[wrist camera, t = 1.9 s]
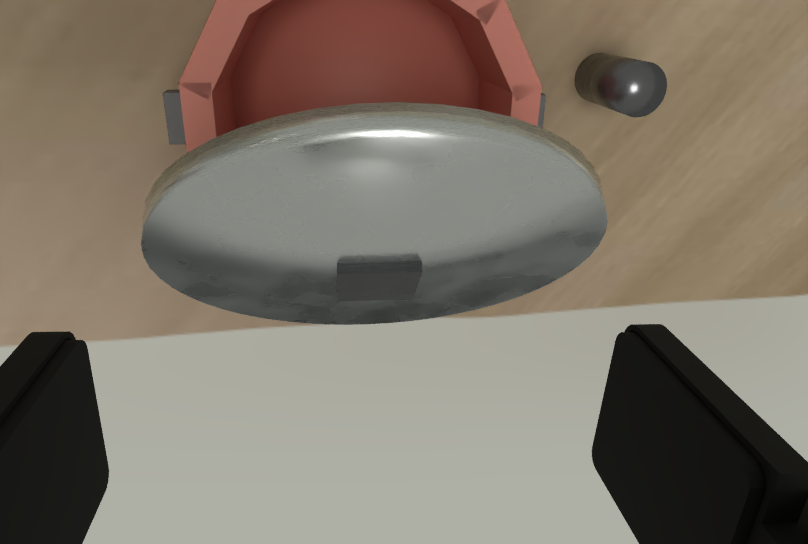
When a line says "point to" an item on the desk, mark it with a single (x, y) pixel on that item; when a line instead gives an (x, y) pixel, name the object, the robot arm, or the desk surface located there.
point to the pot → (350, 61)
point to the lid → (373, 214)
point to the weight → (621, 84)
